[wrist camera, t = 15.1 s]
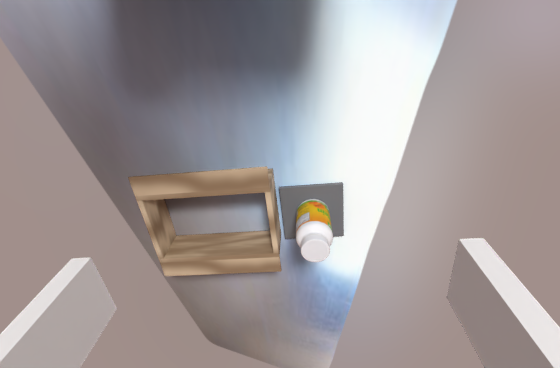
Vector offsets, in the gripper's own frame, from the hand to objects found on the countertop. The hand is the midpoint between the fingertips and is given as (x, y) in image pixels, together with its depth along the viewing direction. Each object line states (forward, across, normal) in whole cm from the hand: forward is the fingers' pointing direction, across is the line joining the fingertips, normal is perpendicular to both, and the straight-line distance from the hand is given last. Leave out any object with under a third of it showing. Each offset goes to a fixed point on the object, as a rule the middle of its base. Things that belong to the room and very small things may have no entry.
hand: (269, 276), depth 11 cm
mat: (+35, +2, -20) cm, 40 cm away
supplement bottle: (+34, +2, -20) cm, 40 cm away
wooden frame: (+35, -14, -18) cm, 41 cm away
